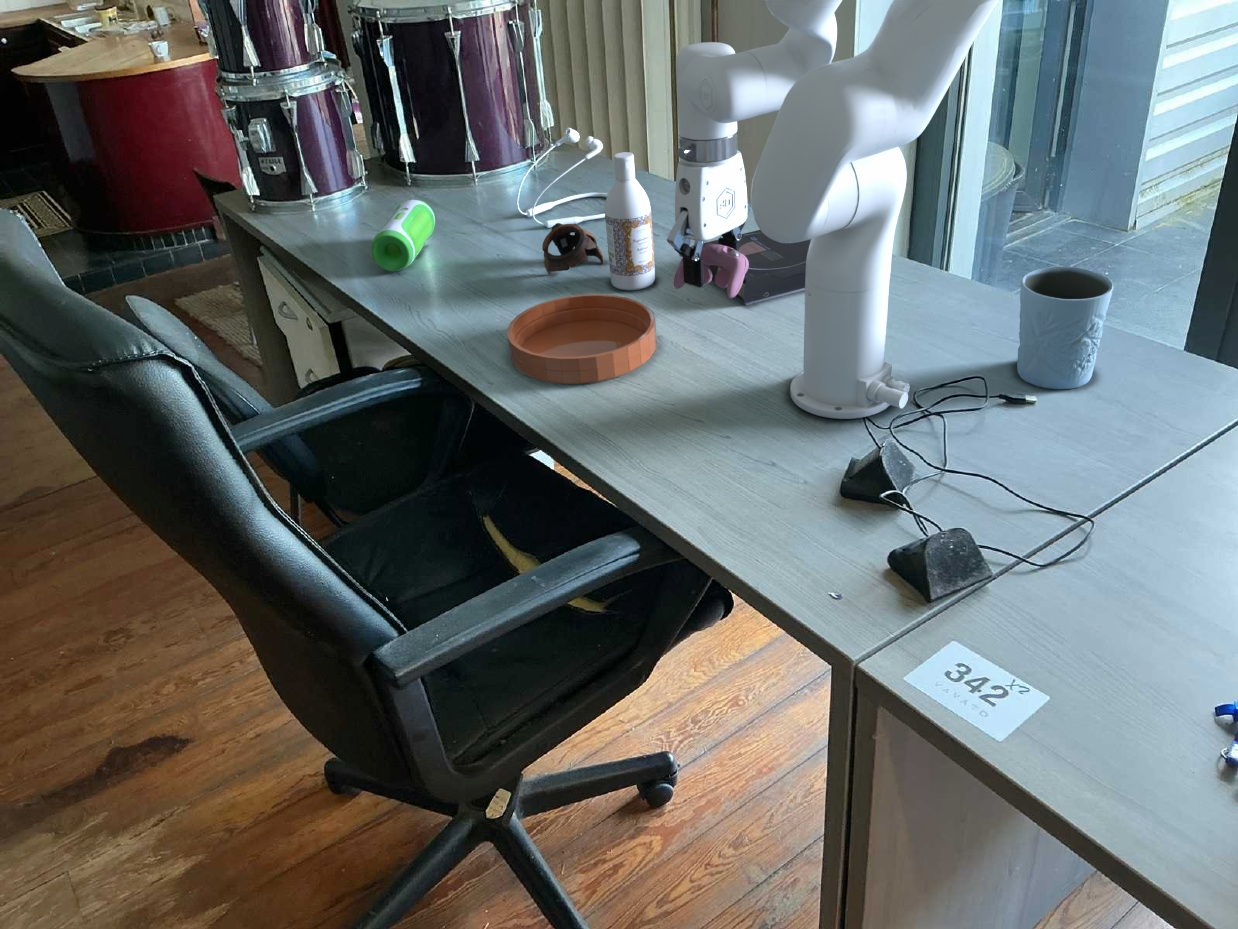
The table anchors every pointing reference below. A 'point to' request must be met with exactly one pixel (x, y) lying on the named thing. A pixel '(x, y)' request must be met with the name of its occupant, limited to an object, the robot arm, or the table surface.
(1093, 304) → the embossed flower pot
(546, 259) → the brown ring bracket
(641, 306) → the catchall bowl
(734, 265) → the video game controller
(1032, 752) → the table surface
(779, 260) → the portable cd player
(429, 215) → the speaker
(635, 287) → the bath foam
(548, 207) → the earphone
